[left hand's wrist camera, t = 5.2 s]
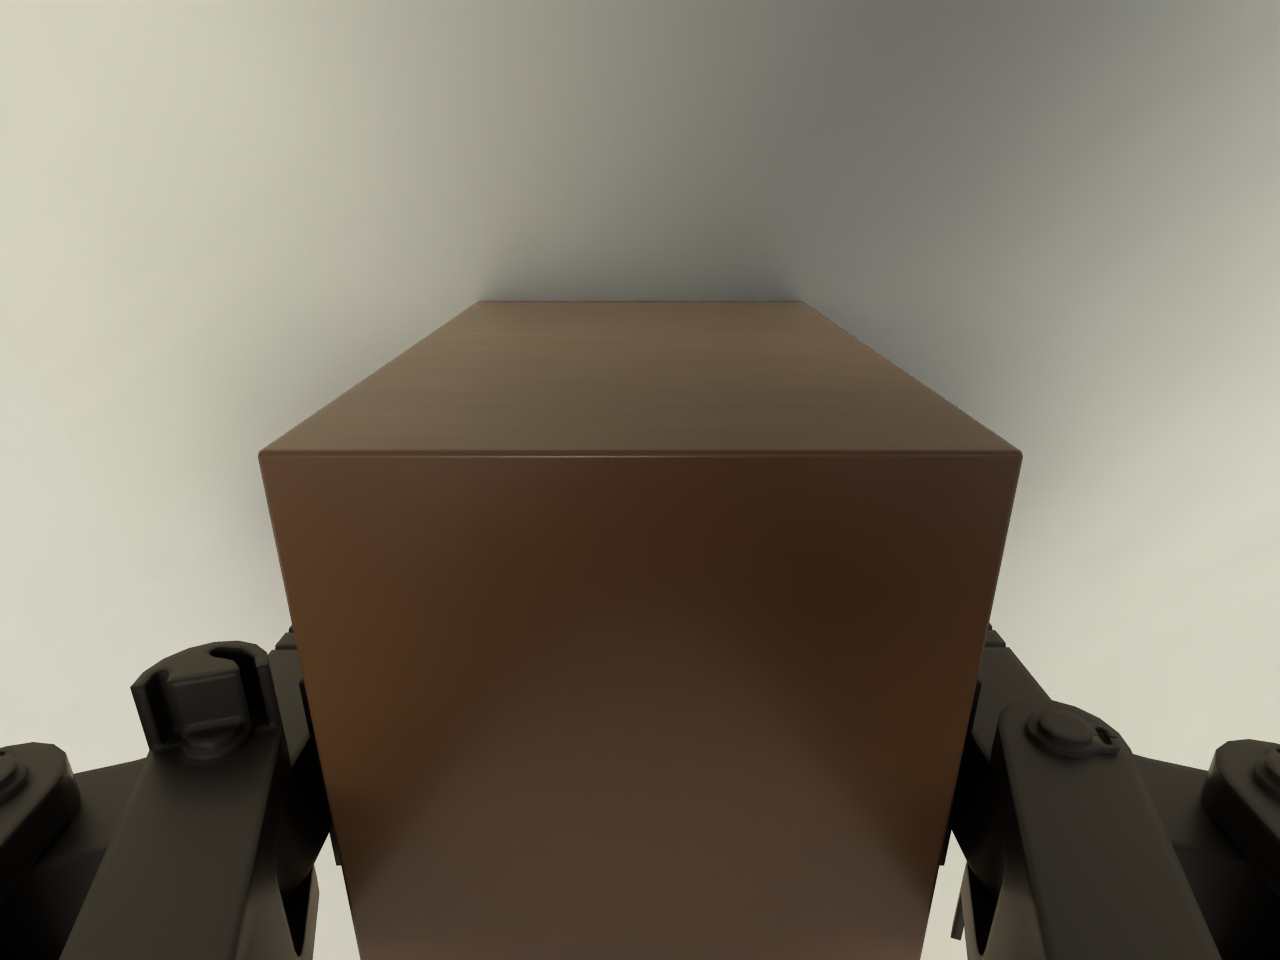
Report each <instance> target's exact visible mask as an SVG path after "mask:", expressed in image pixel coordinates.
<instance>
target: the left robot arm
mask: <svg viewBox="0 0 1280 960" xmlns="http://www.w3.org/2000/svg"><path fill="white" fill-rule="evenodd" d="M275 647H276V648H275V650H272V651H271V652H270V653H269V654H268V655H267V652H266V651H264V650H263V649H262V648H260V647H259V646H258V645H256V644H252V643H247V642H242V641H224V642H213V643H208V644H204V645H200V646H196V647H192V648H188V649H186V650H183V651H181V652H179V653H176V654H174V655H172V656H169V657H167V658H164V659H163V660H161V661H160V662H158V663H157V664H155V665H154V666H152V667H151V668H149V669H148V670H146V671H145V672H143V673H142V674H141V675H140V677H139V678H138V679H137V680H136V681H135V683H134V684H133V685H132V686H131V687H130V688H131V691H132V695H133V698H134V701H135V704H136V708H137V711H138V714H139V717H140V720H141V724H142V727H143V730H144V733H145V737H146V740H147V743H148V746H149V749H150V751H149V753H148V755H147V757H146V758H143V759H139V760H136V761H132V762H127V763H123V764H118V765H113V766H109V767H104V768H99V769H95V770H90V771H85V772H80V773H76V774H73V772H72V769H71V766H70V764H69V761H68V758H67V755H66V753H65V752H64V751H62V750H61V749H60V748H58V747H57V746H55V745H54V744H45V743H36V742H31V743H25V744H19V745H12V746H6V747H2V748H0V960H312V959H313V949H314V940H315V930H316V920H317V911H318V901H319V887H318V881H317V876H316V871H315V867H314V863H315V861H316V858H317V856H318V854H319V852H320V850H321V848H322V846H323V844H324V842H325V840H326V838H327V836H328V834H329V832H330V837H331V842H332V847H333V851H334V856H335V861H336V865H341V861H340V856H339V851H338V846H337V841H336V836H335V832H334V827H333V822H332V817H331V812H330V807H329V802H328V797H327V792H326V787H325V783H324V778H323V773H322V768H321V763H320V758H319V753H318V748H317V743H316V738H315V733H314V729H313V724H312V719H311V714H310V709H309V704H308V699H307V694H306V689H305V684H304V679H303V675H302V670H301V665H300V660H299V655H298V650H297V645H296V640H295V635H294V630H293V626H291V627H290V628H289V633H285V634H284V636H283V637H282V638H281V639H280V641H279V642H278V643H277V644H276V646H275ZM951 830H952V831H953V833H954V835H955V837H956V839H957V841H958V843H959V846H960V848H961V850H962V852H963V854H964V856H965V858H966V860H967V862H966V867H965V871H964V876H963V880H962V885H961V889H960V894H959V898H958V903H957V907H956V912H955V916H954V921H953V926H952V932H951V938H954V939H958V940H961V936H962V932H963V928H965V938H966V947H967V957H968V960H1280V744H1276V743H1270V742H1264V741H1257V740H1251V739H1246V740H1236V741H1228V742H1226V743H1225V744H1223V745H1222V746H1221V747H1219V748H1218V749H1216V752H1215V754H1214V757H1213V760H1212V763H1211V765H1210V768H1209V771H1205V770H1201V769H1196V768H1191V767H1187V766H1182V765H1177V764H1173V763H1168V762H1163V761H1158V760H1154V759H1149V758H1145V757H1142V756H1138V755H1134V754H1132V751H1131V749H1130V748H1129V746H1128V745H1127V744H1126V742H1125V741H1124V740H1123V738H1122V737H1121V735H1120V734H1119V733H1118V732H1117V731H1115V730H1114V729H1113V728H1112V727H1110V726H1109V725H1108V724H1106V723H1105V722H1104V721H1102V720H1101V719H1100V718H1098V717H1096V716H1094V715H1092V714H1090V713H1088V712H1086V711H1083V710H1081V709H1079V708H1077V707H1075V706H1071V705H1067V704H1064V703H1060V702H1057V701H1053V700H1051V699H1050V697H1049V696H1048V695H1047V694H1046V693H1045V691H1044V690H1043V689H1042V688H1041V686H1040V685H1039V684H1038V683H1037V681H1036V680H1035V679H1034V678H1033V676H1032V675H1031V674H1030V673H1029V671H1028V670H1027V669H1026V668H1025V667H1024V665H1023V664H1022V663H1021V662H1020V660H1019V659H1018V658H1017V657H1016V655H1015V654H1014V653H1013V652H1012V650H1011V649H1010V648H1009V647H1006V643H1005V642H1004V641H1003V639H1002V638H1001V637H1000V636H999V634H998V633H997V632H996V631H995V630H992V626H991V624H990V623H989V624H988V629H987V634H986V639H985V644H984V649H983V654H982V659H981V664H980V669H979V673H978V678H977V683H976V688H975V693H974V698H973V703H972V708H971V713H970V717H969V722H968V727H967V732H966V737H965V742H964V747H963V752H962V757H961V762H960V766H959V771H958V776H957V781H956V786H955V791H954V796H953V801H952V806H951V810H950V815H949V820H948V825H947V830H946V835H945V840H944V845H943V850H942V855H941V859H940V864H939V865H944V863H945V858H946V854H947V849H948V844H949V839H950V834H951Z"/></svg>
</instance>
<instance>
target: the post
mask: <svg viewBox="0 0 1280 960" xmlns="http://www.w3.org/2000/svg"><path fill="white" fill-rule="evenodd" d="M1022 458H1023V456H1022V452H1021V451H1020V450H1019V449H1017V448H1016V447H1014V446H1013V445H1011V444H1010V443H1008V442H1007V441H1006V440H1004V439H1003V438H1001V437H1000V436H998V435H997V434H995V433H994V432H992V431H991V430H989V429H988V428H987V427H985V426H984V425H982V424H981V423H979V422H978V421H976V420H975V419H973V418H972V417H970V416H969V415H967V414H966V413H965V412H963V411H962V410H960V409H959V408H957V407H956V406H954V405H953V404H951V403H950V402H948V401H947V400H946V399H944V398H943V397H941V396H940V395H938V394H937V393H935V392H934V391H932V390H931V389H929V388H928V387H927V386H925V385H924V384H922V383H921V382H919V381H918V380H916V379H915V378H913V377H912V376H910V375H909V374H907V373H906V372H905V371H903V370H902V369H900V368H899V367H897V366H896V365H894V364H893V363H891V362H890V361H888V360H887V359H886V358H884V357H883V356H881V355H880V354H878V353H877V352H875V351H874V350H872V349H871V348H869V347H868V346H867V345H865V344H864V343H862V342H861V341H859V340H858V339H856V338H855V337H853V336H852V335H850V334H849V333H847V332H846V331H845V330H843V329H842V328H840V327H839V326H837V325H836V324H834V323H833V322H831V321H830V320H828V319H827V318H826V317H824V316H823V315H821V314H820V313H818V312H817V311H815V310H814V309H812V308H811V307H809V306H808V305H807V304H805V303H803V302H477V303H475V304H474V305H472V306H471V307H470V308H468V309H467V310H465V311H464V312H462V313H461V314H459V315H458V316H456V317H455V318H453V319H452V320H451V321H449V322H448V323H446V324H445V325H443V326H442V327H440V328H439V329H437V330H436V331H434V332H433V333H432V334H430V335H429V336H427V337H426V338H424V339H423V340H421V341H420V342H418V343H417V344H415V345H414V346H413V347H411V348H410V349H408V350H407V351H405V352H404V353H402V354H401V355H399V356H398V357H396V358H395V359H394V360H392V361H391V362H389V363H388V364H386V365H385V366H383V367H382V368H380V369H379V370H378V371H376V372H375V373H373V374H372V375H370V376H369V377H367V378H366V379H364V380H363V381H361V382H360V383H359V384H357V385H356V386H354V387H353V388H351V389H350V390H348V391H347V392H345V393H344V394H342V395H341V396H340V397H338V398H337V399H335V400H334V401H332V402H331V403H329V404H328V405H326V406H325V407H323V408H322V409H321V410H319V411H318V412H316V413H315V414H313V415H312V416H310V417H309V418H307V419H306V420H304V421H303V422H302V423H300V424H299V425H297V426H296V427H294V428H293V429H291V430H290V431H288V432H287V433H285V434H284V435H283V436H281V437H280V438H278V439H277V440H275V441H274V442H272V443H271V444H269V445H268V446H267V447H265V448H264V449H262V450H261V451H259V455H258V459H259V464H260V469H261V473H262V478H263V483H264V488H265V493H266V498H267V503H268V508H269V513H270V518H271V522H272V527H273V532H274V537H275V542H276V547H277V552H278V557H279V562H280V567H281V572H282V576H283V581H284V586H285V591H286V596H287V601H288V606H289V611H290V616H291V621H292V626H293V630H294V635H295V640H296V645H297V650H298V655H299V660H300V665H301V670H302V675H303V679H304V684H305V689H306V694H307V699H308V704H309V709H310V714H311V719H312V724H313V729H314V733H315V738H316V743H317V748H318V753H319V758H320V763H321V768H322V773H323V778H324V783H325V787H326V792H327V797H328V802H329V807H330V812H331V817H332V822H333V827H334V832H335V836H336V841H337V846H338V851H339V856H340V861H341V866H342V871H343V876H344V881H345V886H346V890H347V895H348V900H349V905H350V910H351V915H352V920H353V925H354V930H355V935H356V940H357V944H358V949H359V954H360V959H361V960H920V957H921V952H922V948H923V943H924V938H925V933H926V928H927V923H928V918H929V913H930V908H931V903H932V899H933V894H934V889H935V884H936V879H937V874H938V869H939V864H940V859H941V855H942V850H943V845H944V840H945V835H946V830H947V825H948V820H949V815H950V810H951V806H952V801H953V796H954V791H955V786H956V781H957V776H958V771H959V766H960V762H961V757H962V752H963V747H964V742H965V737H966V732H967V727H968V722H969V717H970V713H971V708H972V703H973V698H974V693H975V688H976V683H977V678H978V673H979V669H980V664H981V659H982V654H983V649H984V644H985V639H986V634H987V629H988V624H989V620H990V615H991V610H992V605H993V600H994V595H995V590H996V585H997V580H998V576H999V571H1000V566H1001V561H1002V556H1003V551H1004V546H1005V541H1006V536H1007V532H1008V527H1009V522H1010V517H1011V512H1012V507H1013V502H1014V497H1015V492H1016V487H1017V483H1018V478H1019V473H1020V468H1021V463H1022Z"/></svg>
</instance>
